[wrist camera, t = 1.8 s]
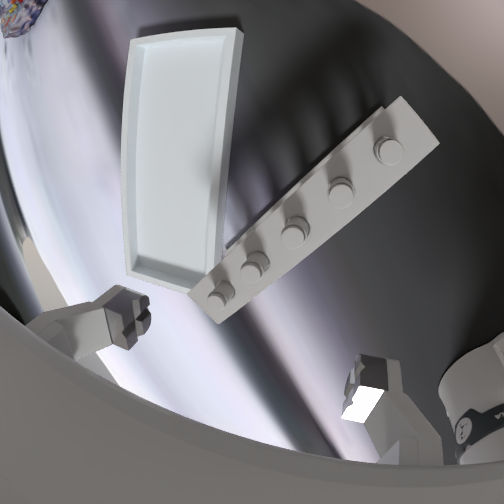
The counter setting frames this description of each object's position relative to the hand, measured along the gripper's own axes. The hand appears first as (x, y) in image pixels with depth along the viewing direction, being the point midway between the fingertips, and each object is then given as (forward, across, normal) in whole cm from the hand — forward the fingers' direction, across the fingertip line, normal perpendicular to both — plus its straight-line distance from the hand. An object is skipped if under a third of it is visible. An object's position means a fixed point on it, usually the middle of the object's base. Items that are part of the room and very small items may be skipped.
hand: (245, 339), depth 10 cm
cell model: (+24, -59, +36) cm, 73 cm away
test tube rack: (+24, 0, 0) cm, 24 cm away
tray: (+24, -17, +1) cm, 29 cm away
